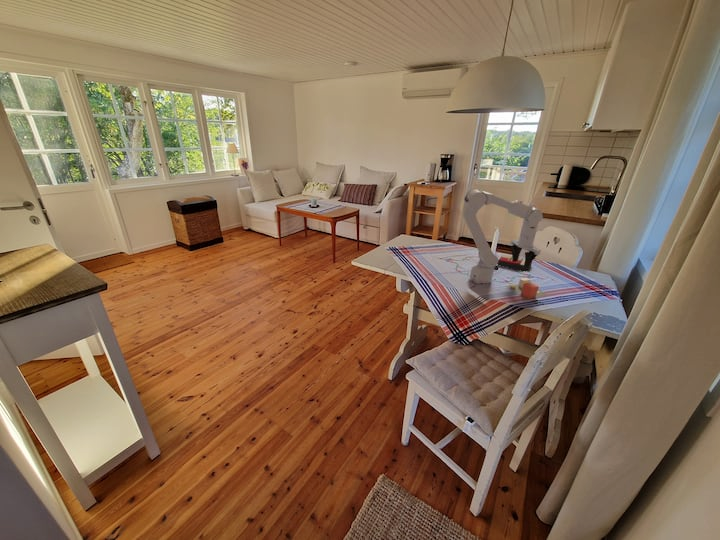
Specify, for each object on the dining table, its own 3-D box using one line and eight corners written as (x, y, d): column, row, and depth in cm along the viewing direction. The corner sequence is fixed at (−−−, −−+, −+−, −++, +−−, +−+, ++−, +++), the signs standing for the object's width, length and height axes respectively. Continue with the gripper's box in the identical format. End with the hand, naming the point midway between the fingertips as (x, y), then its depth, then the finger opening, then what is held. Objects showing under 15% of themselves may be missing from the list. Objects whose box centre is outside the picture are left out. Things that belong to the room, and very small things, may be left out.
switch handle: (521, 287, 130) (523, 280, 129) (518, 285, 132) (520, 278, 131) (528, 286, 132) (530, 279, 130) (525, 284, 133) (526, 277, 132)
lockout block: (528, 298, 122) (531, 287, 120) (520, 293, 125) (523, 283, 123) (535, 297, 123) (538, 286, 121) (528, 292, 126) (531, 282, 124)
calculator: (502, 253, 164) (532, 258, 156) (501, 260, 166) (531, 266, 158) (497, 259, 156) (529, 265, 148) (496, 266, 158) (527, 273, 149)
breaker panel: (526, 302, 122) (527, 297, 121) (505, 289, 132) (506, 284, 131) (548, 298, 125) (549, 293, 124) (525, 285, 135) (527, 281, 135)
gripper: (549, 239, 122) (540, 268, 127) (521, 230, 134) (515, 257, 140) (536, 241, 120) (528, 271, 125) (509, 231, 132) (503, 259, 138)
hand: (520, 263), depth 133 cm, fingers open, 6 cm apart
